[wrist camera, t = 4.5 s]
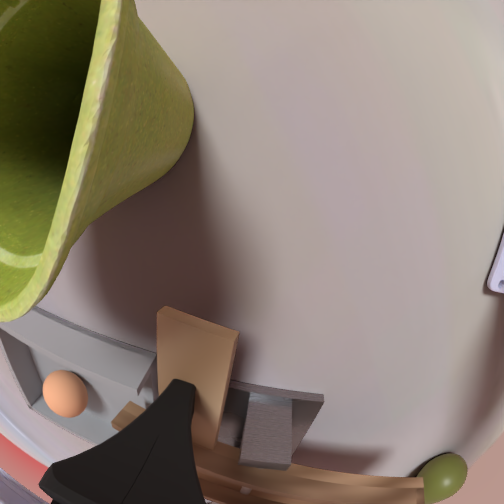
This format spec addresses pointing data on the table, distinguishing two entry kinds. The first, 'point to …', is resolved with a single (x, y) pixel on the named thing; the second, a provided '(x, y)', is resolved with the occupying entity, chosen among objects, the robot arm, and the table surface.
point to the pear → (443, 477)
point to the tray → (78, 370)
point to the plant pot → (76, 130)
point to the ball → (65, 393)
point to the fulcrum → (266, 423)
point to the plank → (226, 456)
